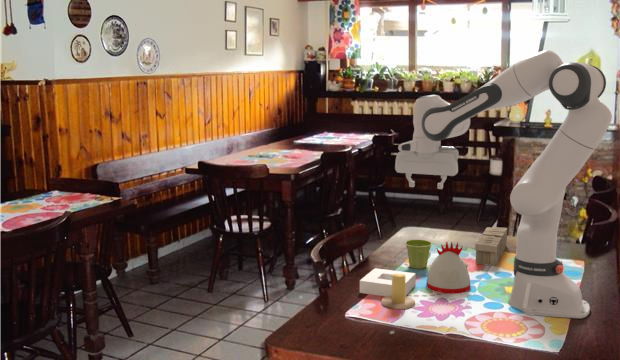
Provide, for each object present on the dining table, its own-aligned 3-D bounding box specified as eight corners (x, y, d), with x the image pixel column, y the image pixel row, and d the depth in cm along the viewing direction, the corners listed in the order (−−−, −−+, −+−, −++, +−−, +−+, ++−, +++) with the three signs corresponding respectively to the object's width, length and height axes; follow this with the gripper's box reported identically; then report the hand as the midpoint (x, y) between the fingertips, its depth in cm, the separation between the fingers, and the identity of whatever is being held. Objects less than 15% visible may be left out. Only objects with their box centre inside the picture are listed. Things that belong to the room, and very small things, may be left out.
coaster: (419, 300, 198) (419, 298, 198) (409, 311, 189) (409, 309, 189) (387, 295, 202) (387, 293, 202) (376, 306, 194) (376, 304, 193)
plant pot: (433, 270, 227) (434, 246, 226) (406, 270, 227) (406, 246, 226) (429, 262, 236) (429, 239, 235) (403, 262, 236) (403, 239, 235)
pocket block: (415, 285, 212) (415, 273, 211) (402, 298, 199) (402, 286, 199) (374, 279, 218) (374, 268, 217) (359, 292, 205) (359, 280, 205)
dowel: (406, 300, 197) (407, 274, 195) (402, 304, 193) (403, 278, 192) (394, 298, 198) (394, 272, 197) (390, 302, 195) (390, 276, 193)
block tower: (486, 247, 260) (473, 264, 233) (487, 226, 258) (474, 241, 232) (507, 248, 256) (496, 267, 230) (507, 227, 255) (497, 243, 229)
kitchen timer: (471, 295, 202) (472, 248, 200) (426, 292, 205) (426, 246, 202) (469, 280, 216) (470, 237, 213) (427, 278, 218) (427, 235, 216)
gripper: (461, 145, 208) (459, 188, 211) (399, 143, 217) (399, 184, 219) (456, 148, 203) (455, 191, 205) (393, 145, 212) (393, 187, 214)
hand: (425, 187), depth 212 cm, fingers open, 8 cm apart
